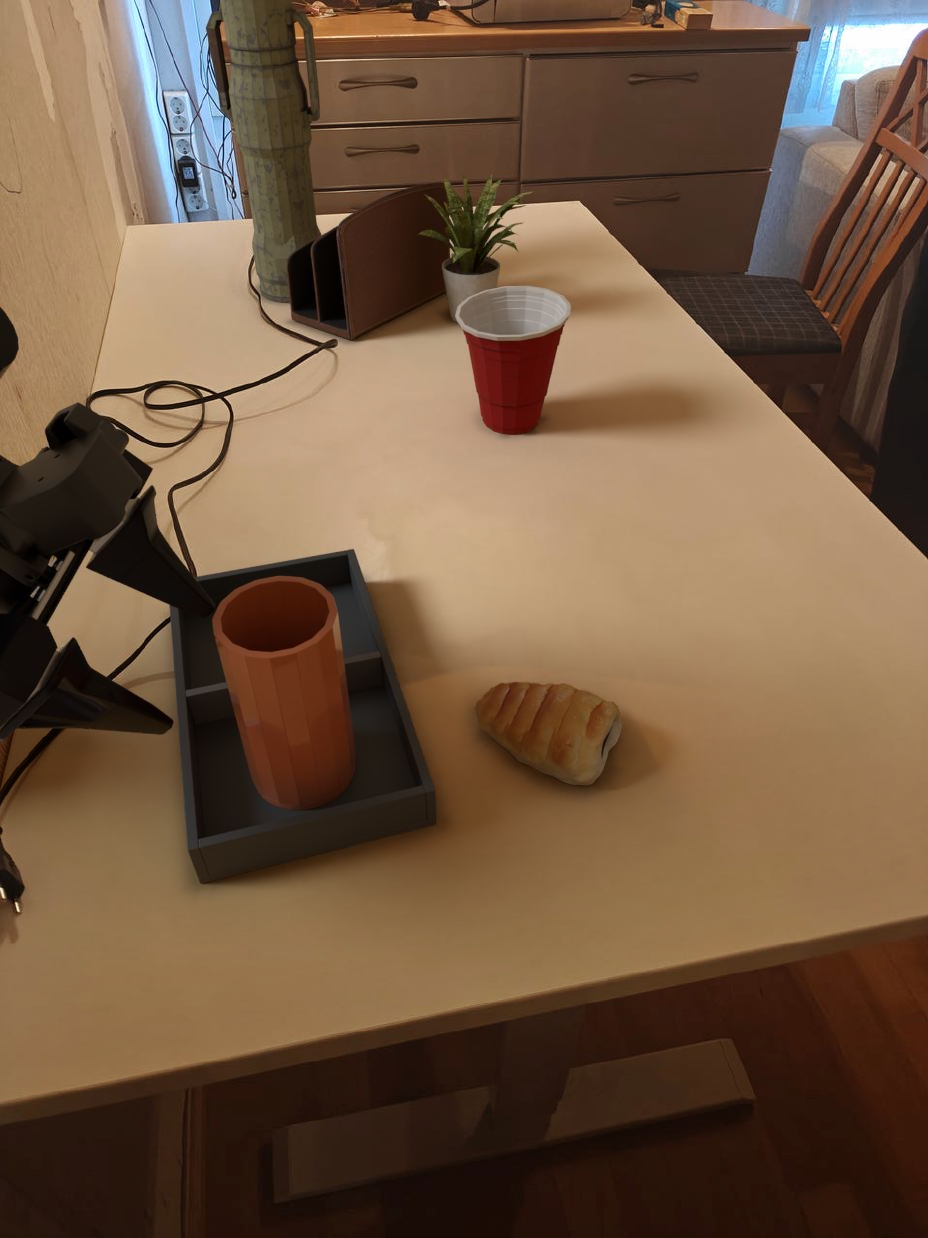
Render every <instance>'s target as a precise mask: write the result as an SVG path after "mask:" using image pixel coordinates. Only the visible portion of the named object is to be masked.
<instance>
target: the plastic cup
mask: <svg viewBox="0 0 928 1238" xmlns="http://www.w3.org/2000/svg"><path fill="white" fill-rule="evenodd" d="M571 306H572V305H571V303H570V301H569V300H568V299H567V298H566V297H565V296H564V295H563V294H561V293H559V292H556V291H554V290H551V289H549V288H546V287H539V286H532V285H504V286H501V287H497V288H494V289H489V290H485V291H482V292H480V293H477V294H475V295H473V296H470V297H468V298H467V299H466V300H465V301H463V302H462V303H461V304H460V305H459V306H458V307H457V311H456V315H455V317H456V320H457V321H458V322H457V324H459V326H460V328H461V330H462V332H463V335H464V337H465V341H466V344H467V347H468V353H469V358H470V364H471V370H472V374H473V378H474V385H475V389H476V393H477V398H478V405H479V411H480V416H481V419H482V421H483V424H484V425H485V427H486V428H487V429H489V430H491V431H492V432H495V433H499V434H503V435H518V434H524V433H527V432H529V431H533V430H534V429H535V428H536V427H537V426H538V424H539V420H540V419H541V416H542V412H543V407H544V402H545V400H546V399H545V398H546V397H547V395H548V390H549V385H550V381H551V377H552V373H553V368H554V365H555V360H556V356H557V351H558V349H559V348H558V347H559V346H560V343H561V338H562V335H563V331H564V327H565V326H566V323H567V322H568V320H570V317H571Z"/></svg>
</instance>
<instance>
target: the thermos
mask: <svg viewBox="0 0 928 1238" xmlns="http://www.w3.org/2000/svg"><path fill="white" fill-rule="evenodd" d="M220 7H221V8H220V9H219V10H217V11H214V12H211V13H210V15H209V18H208V21H207V24H206V26H205V32H206V37H207V42H208V46H209V51H210V57H211V62H212V68H213V73H214V79H215V83H216V88H217V89H216V90H217V95H218V103H219V110H220V112H222V113H223V114H224V115H225V117H227V119H229V120H230V122H231V123H233V127H234V128H233V129H234V134H235V140H236V141H235V142H236V144H237V146H238V148H239V149H240V151H241V153H242V160H243V166H244V173H245V179H246V184H247V185H246V186H247V193H248V198H249V206H250V212H251V219H252V224H253V225H252V226H253V236H252V241H251V246H252V253H253V254H252V255H253V260H254V267H255V271H256V272H255V273H256V276H257V277H258V280H259V281H258V282H259V291H260V296H262V297H263V298H265V299H267V300H269V301H272V302H278V303H288V304H290V297H289V288H288V278H287V269H286V262H287V259H288V257H289V255H290V254H291V253H292V252H294V251H295V250H296V249H298V248H299V247H301V246H303V245H304V244H306V243H307V242H309V241H311V240H313V239H315V238H317V237H318V236H321V235H322V232H321V230H320V229H319V225H318V222H317V213H316V204H315V203H316V202H315V194H314V184H313V176H312V175H313V174H312V167H311V166H312V164H311V157H310V147H311V144H312V139H313V136H312V128H311V127H312V126H311V124H312V122H317V121H319V120H320V118H321V106H320V90H319V80H318V79H319V78H318V69H317V58H316V57H317V56H316V47H315V37H314V27H313V24H312V23H311V21H310V20H309V18H308V16H307V15H306V13H305V11H298V9H297V8H294V7H293V0H220ZM222 23H223V26H224V35H225V40H226V46H227V47H228V48H229V49H228V50H229V55H230V60H229V67H230V79H229V76H228V70H227V69H228V68H227V63H226V57H225V52H224V51H225V49H224V45H223V44H224V43H223V38H222V31H221V25H222ZM295 23H298V25H299V26H300V28H301V29H302V32H303V34H302V35H303V42H304V52H305V53H304V54H305V63H306V73H307V81H308V90H307V87H306V85H305V82H304V79H303V77H302V74H301V71H300V64H299V63H300V62H299V59H298V57H297V53H296V45H297V37H296V27H295ZM308 93H309V98H308ZM309 101H310V106H309Z"/></svg>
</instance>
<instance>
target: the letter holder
mask: <svg viewBox="0 0 928 1238" xmlns="http://www.w3.org/2000/svg"><path fill="white" fill-rule="evenodd" d="M425 194H426V195H427V196H429V197H431V198H433V199H434V200H435V201H436V202H437V203H438V204H439V205H440V206H441V207H442V208H443V209H444V210H445V212H446V213H447V215H448V216H449V217H450V215H449V214H448V212H447V210H446V207H445V204H444V202H445V203H446V204H447V205H448V206H449V201H448V197H447V193H446V188H445V185H444V182H441V181H440V182H438V181H437V182H436V181H435V182H427V183H423V184H417V185H414V186H411V187H407V188H403V189H400V190H399V189H398V190H397V191H394V192H391V193H388V194H386V195H383V196H381V197H379V198H377V199H375V200H373V201H371V202H370V203H368V204H365V205H364V206H362V207H361V208H359V209H357V210H355V211H354V212H352V213H351V214H349V215H347V216H346V217H345V218H343V219H342V220H341V221H340V222H339V223H338V225H336V226H335V227H333V228H331V229H330V230H328V231H326V232H325V233H322V234H321V236H318V237H317V238H315V239H313V240H311V241H309V242H307V243H306V244H304V245H303V246H301V247H299V248H298V249H296V250H295V251H294V252H292V253H291V254H290V255H289V257H288V259H287V262H286V269H287V278H288V288H289V297H290V303H289V306H290V317H291V320H292V321H294V322H296V323H300V324H302V325H305V326H308V327H310V328H313V329H317V330H320V331H323V332H325V333H328V334H331V335H335V336H337V337H340V338H343V339H345V340H348V341H353V340H355V339H356V338H358V337H360V336H362V335H363V334H366V333H367V332H370V331H371V330H373V329H375V328H377V327H379V326H381V325H383V324H386V323H387V322H389V321H391V320H393V319H395V318H397V317H399V316H401V315H403V314H405V313H407V312H409V311H412V310H413V309H416V308H417V307H419V306H422V305H423V304H425V303H427V302H430V301H432V300H433V299H435V298H437V297H440V296H441V295H443V294H445V293H446V288H445V282H444V277H443V271H442V263H443V262H444V261H445V260H446V259H448V258H451V248H450V247H449V246H448V245H447V244H446V243H445V242H443V241H441V240H439V239H436V238H433V237H429V236H425V235H420V234H419V233H420V232H422V231H424V230H433V231H436V232H438V233H440V234H441V235H443V236H444V237H445V238H446V239H447V240H449V241H450V242H451V240H450V239H449V237H448V236H447V234H446V233H445V230H444V229H445V228H446V227H448V225H447V223H446V221H445V220H444V218H443V217H442V215H441V214H440V213H439V212H438V211H437V209H436V208H435V206H434V205H433V203H432V202H431V201H430V200H429V199H428V198H427V197H426V196H425Z"/></svg>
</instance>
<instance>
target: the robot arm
mask: <svg viewBox="0 0 928 1238" xmlns="http://www.w3.org/2000/svg"><path fill="white" fill-rule="evenodd" d="M19 345H20V344H19V336H18V333H17V330H16V328H15V325H14V323H13V322H12V320H11V319H10V318H9V315H8V314H7V313H6V312H5V310H4V309H3V308H2V307H1V306H0V380H2V378H3V376H5V374H6V372H7V371H8V370H9V368H10V367H11V365H12V364H13V363H14V361H15V360H16V358H17V355H18V353H19V349H20V346H19ZM44 435H45V438H46V442H47V444H48V445H47V446H44V447H42V448H41V449H40V450H39V451H38V453H37V454H36V456H35V457H34V458H33V459H31V460H29V461H27V462H25V463H23V464H21V465H19V464H16V463H14V462H13V461H10V460H9V459H8V458H6V457H5V456H4V455H1V454H0V741H5V740H7V739H8V738H9V737H10V736H11V735H12V734H13V733H14V732H15V731H16V730H34V729H35V730H38V729H39V730H42V729H44V730H45V729H49V730H50V729H80V730H95V731H108V732H120V733H132V734H145V735H156V736H157V735H158V736H159V735H160V736H162V735H165V734H166V733H167V732H169V731H170V730H171V729H172V728H173V726H174V723H175V722H174V719H173V718H172V717H170V716H169V715H168V714H166V713H165V712H164V711H162V710H161V709H160V708H158V707H157V706H156V705H154V704H153V703H151V702H150V701H148V700H146V699H144V698H143V697H141V696H140V695H137V694H136V693H134V692H132V691H131V690H129V689H128V688H126V687H124V686H123V685H121V684H119V683H117V682H116V681H114V680H113V679H111V678H109V677H107V676H106V675H104V674H103V673H100V672H99V671H98V670H96V669H94V668H93V667H91V665H90V664H89V662H88V660H87V659H86V656H85V654H84V653H83V650H82V648H81V646H80V644H79V642H78V640H77V639H76V638H75V637H71V638H70V640H69V641H67V642H66V644H64V646H62V647H61V648H60V649H59V650H57V649H58V644H57V641H56V640H55V637H54V635H53V634H52V631H51V629H50V627H49V625H48V624H49V622H50V620H51V618H52V616H53V615H54V613H55V611H56V609H57V608H58V606H59V604H60V603H61V601H62V599H63V597H64V596H65V594H66V592H67V590H68V589H69V586H70V585H71V583H72V582H73V579H74V578H75V576H76V574H77V572H78V571H79V569H80V568H81V565H82V564H83V562H84V560H85V558H86V556H87V554H88V553H89V551H90V552H91V553H92V555H91V557H90V558H89V560H88V562H87V563H86V566H85V568H86V569H88V570H89V571H91V572H94V573H96V574H97V575H98V574H99V575H101V576H103V577H105V578H107V579H109V580H112V581H115V582H117V583H119V584H120V585H123V586H125V587H129V588H130V589H132V590H134V591H137V592H140V593H142V594H144V595H146V596H149V597H151V598H153V599H155V600H157V601H159V602H162V603H164V604H167V605H169V606H170V605H171V606H173V607H175V608H178V609H180V610H183V611H186V612H189V613H192V614H195V615H197V616H200V617H204V618H205V617H208V616H209V615H210V614H211V613H212V612H213V611H214V609H215V603H214V602H213V601H212V599H211V598H210V597H209V596H208V594H207V593H206V592H205V590H204V589H203V588H202V587H201V585H200V584H199V583H198V582H197V580H196V579H195V578H194V577H195V576H194V575H193V574H192V573H191V571H190V570H189V569H188V567H187V566H186V565H185V564H184V563H183V561H182V559H181V558H180V557H179V556H178V555H177V553H176V552H175V551H174V549H173V548H172V546H171V544H170V543H169V542H168V540H167V539H166V537H165V536H164V534H163V533H162V531H161V529H160V527H159V525H158V519H157V512H156V511H157V510H156V504H155V500H156V499H155V498H156V496H157V490H156V487H155V486H154V485H153V484H151V485H149V487H147V488H146V489H145V491H143V489H144V487H145V485H146V483H147V481H148V479H149V477H150V476H151V474H152V472H153V470H154V468H153V467H152V466H150V465H149V464H147V463H146V462H145V461H143V460H142V459H141V458H139V457H138V456H136V455H135V454H134V453H133V452H131V451H129V450H127V449H126V448H127V446H128V444H129V442H130V436H129V434H128V433H127V432H126V431H125V430H123V429H121V428H116V426H115V425H114V424H113V423H112V422H111V421H110V420H109V419H108V418H106V417H104V416H102V415H100V414H99V413H97V412H96V411H95V410H92V409H91V408H89V407H87V406H85V405H84V404H82V403H81V402H79V401H78V402H75V403H73V404H71V405H69V406H67V407H65V408H62V409H60V410H59V411H57V412H56V413H55V414H54V416H53V417H52V419H50V421H49V422H48V423H47V425H46V427H45V428H44ZM142 491H143V492H142ZM141 493H142V494H141ZM140 494H141V495H140ZM139 495H140V496H139ZM138 496H139V497H138ZM53 557H54V558H53ZM52 558H53V560H52ZM51 560H52V562H51ZM50 562H51V563H50Z"/></svg>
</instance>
